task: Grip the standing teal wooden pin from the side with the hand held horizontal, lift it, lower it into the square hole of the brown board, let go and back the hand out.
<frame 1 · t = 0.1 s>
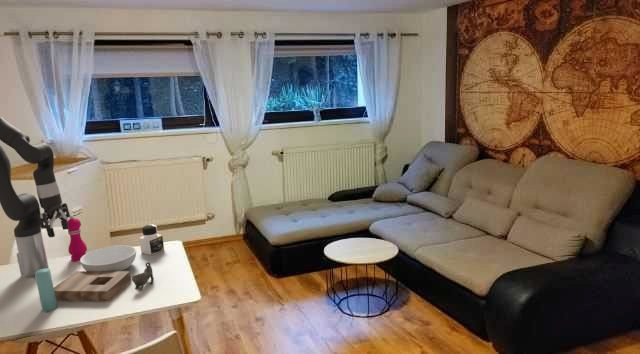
hand: (59, 233, 189), 17 cm above the table, tool pointing down, fingers open, 8 cm apart
pin: (50, 308, 165), on the table
dog figurine: (143, 286, 178), on the table
socket board: (92, 290, 176), on the table
pepper mill: (79, 259, 207), on the table
medicine bottle: (152, 251, 211), on the table
serving bowl: (111, 270, 194), on the table
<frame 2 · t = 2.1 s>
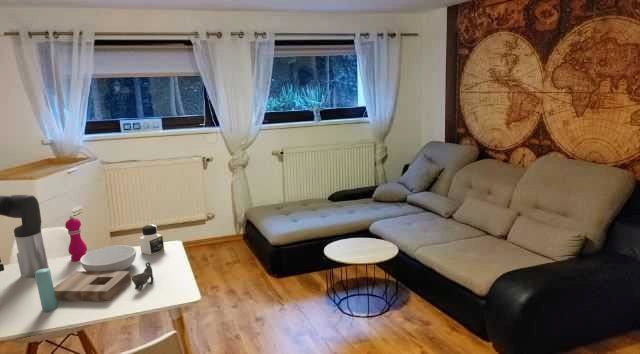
hand: (2, 262, 153), 20 cm above the table, tool horizontal, fingers open, 8 cm apart
nothing on the table moved.
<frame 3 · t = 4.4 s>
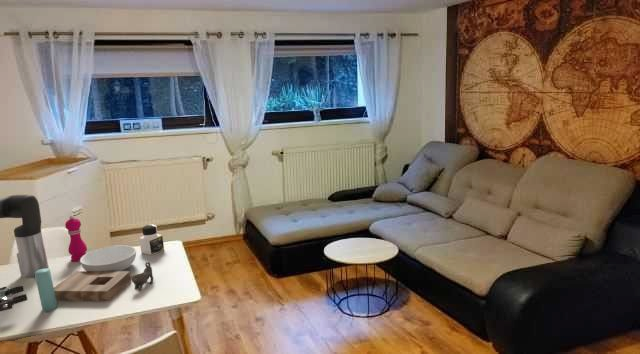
hand: (24, 292, 159), 8 cm above the table, tool horizontal, fingers open, 8 cm apart
nothing on the table moved.
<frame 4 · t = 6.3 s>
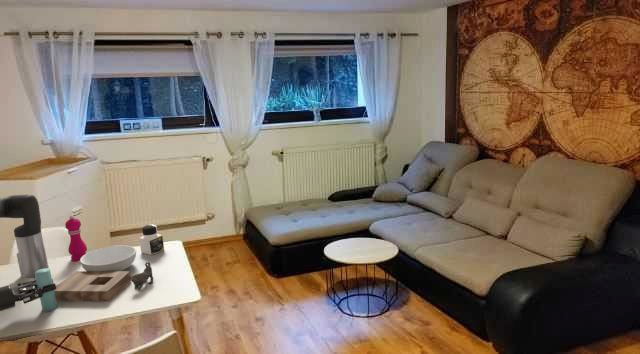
hand: (54, 283, 164), 8 cm above the table, tool horizontal, fingers closed on pin, 4 cm apart
pin: (50, 308, 165), on the table, touching gripper
everything else where it was.
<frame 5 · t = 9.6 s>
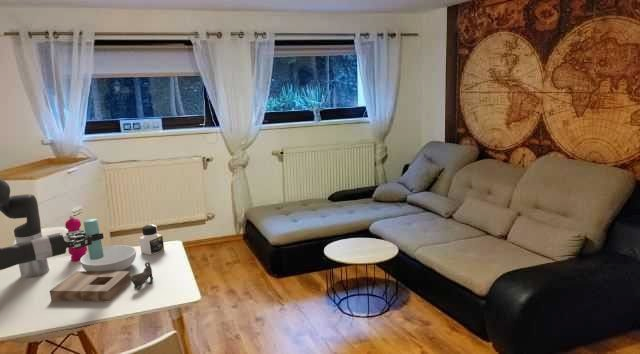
hand: (100, 233, 172), 22 cm above the table, tool horizontal, fingers closed on pin, 4 cm apart
pin: (96, 257, 173), point 13 cm above the table, touching gripper
everything else where it was.
when the fingers open (10 cm above the table, at t = 12.7 s): pin drops 1 cm, resting in socket board.
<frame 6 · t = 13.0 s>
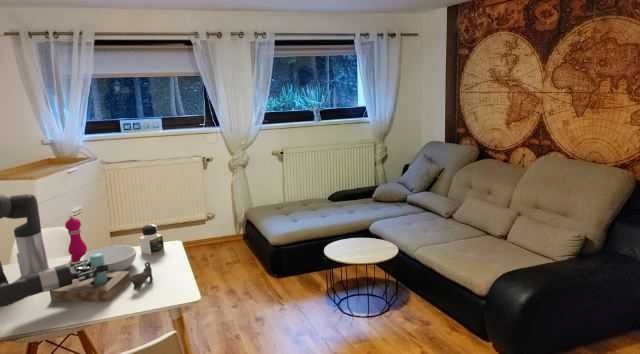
hand: (105, 263, 175), 10 cm above the table, tool horizontal, fingers open, 6 cm apart
pin: (102, 290, 176), resting in socket board
everything else where it was.
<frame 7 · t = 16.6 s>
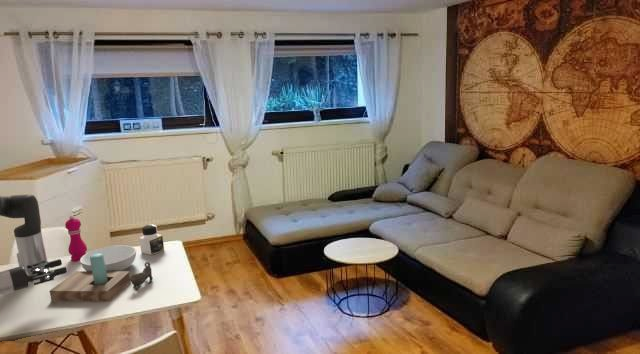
hand: (63, 265, 166), 14 cm above the table, tool horizontal, fingers open, 8 cm apart
nothing on the table moved.
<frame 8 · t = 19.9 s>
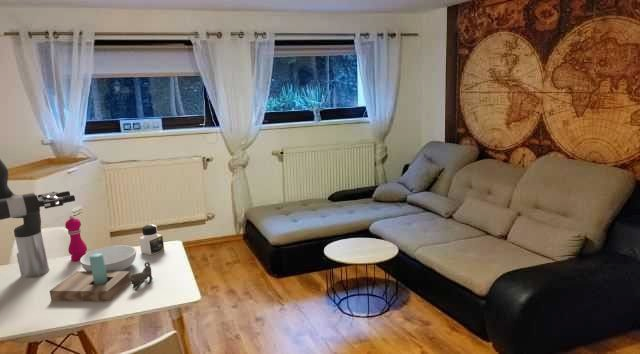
hand: (72, 195, 179), 34 cm above the table, tool horizontal, fingers open, 8 cm apart
at the end: pin 0.1 cm from the target spot on the socket board, point 0.0 cm above the socket board's base; pin tilted 1°; the gripper is holding nothing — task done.
